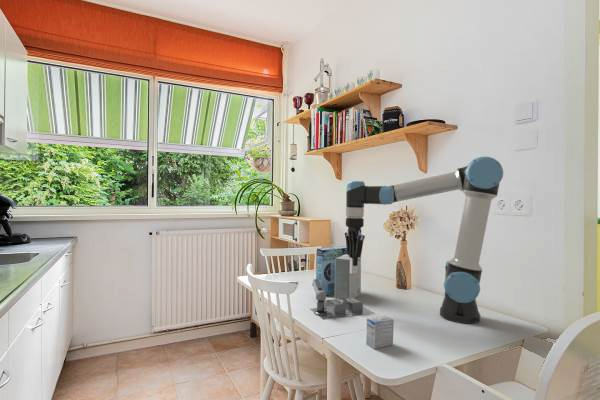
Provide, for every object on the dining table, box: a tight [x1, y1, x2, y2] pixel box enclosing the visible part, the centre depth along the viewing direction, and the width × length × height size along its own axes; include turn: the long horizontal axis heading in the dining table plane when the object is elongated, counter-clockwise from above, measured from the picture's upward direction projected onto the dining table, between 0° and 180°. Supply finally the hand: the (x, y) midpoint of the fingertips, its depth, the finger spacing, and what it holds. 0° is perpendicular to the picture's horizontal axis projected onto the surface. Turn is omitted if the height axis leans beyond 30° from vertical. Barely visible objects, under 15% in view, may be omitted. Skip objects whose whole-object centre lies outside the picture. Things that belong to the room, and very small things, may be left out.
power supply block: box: [325, 298, 346, 315], centre depth 147 cm, size 8×5×4 cm, turn 22°
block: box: [342, 297, 364, 314], centre depth 149 cm, size 8×5×4 cm, turn 22°
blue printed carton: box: [315, 245, 347, 296], centre depth 179 cm, size 20×5×23 cm, turn 126°
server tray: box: [309, 300, 377, 320], centre depth 148 cm, size 14×25×6 cm, turn 112°
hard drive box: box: [334, 254, 362, 301], centre depth 171 cm, size 16×8×20 cm, turn 149°
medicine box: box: [365, 315, 395, 350], centre depth 115 cm, size 8×4×9 cm, turn 118°
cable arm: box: [311, 278, 327, 301], centre depth 154 cm, size 25×4×4 cm, turn 3°
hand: (353, 272), depth 149 cm, fingers closed
